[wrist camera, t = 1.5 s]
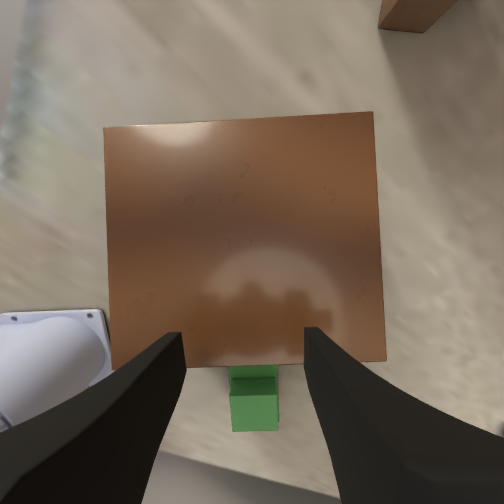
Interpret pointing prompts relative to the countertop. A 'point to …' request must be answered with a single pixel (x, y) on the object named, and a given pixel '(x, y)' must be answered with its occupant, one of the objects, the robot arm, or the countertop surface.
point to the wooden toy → (412, 14)
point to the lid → (244, 238)
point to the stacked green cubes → (254, 398)
